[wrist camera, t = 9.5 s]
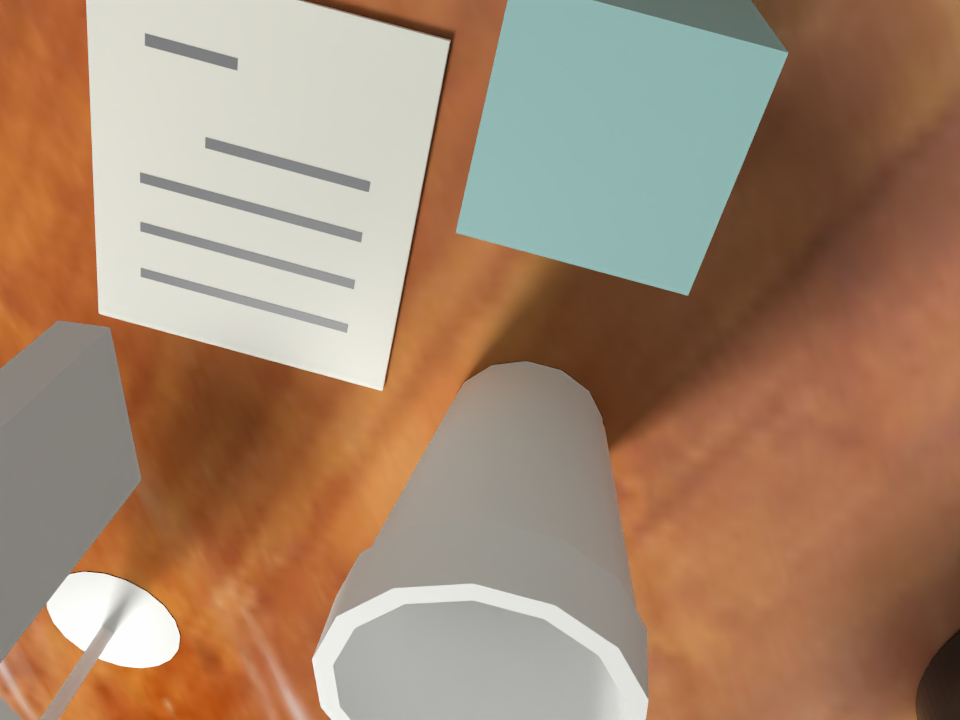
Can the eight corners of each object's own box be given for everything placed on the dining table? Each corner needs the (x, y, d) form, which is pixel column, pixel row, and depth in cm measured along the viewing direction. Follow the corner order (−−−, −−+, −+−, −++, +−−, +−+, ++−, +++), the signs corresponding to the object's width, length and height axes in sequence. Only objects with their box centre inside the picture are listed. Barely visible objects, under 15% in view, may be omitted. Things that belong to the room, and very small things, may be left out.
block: (670, 154, 27) (687, 296, 19) (508, 111, 28) (455, 232, 19) (734, -23, 24) (788, 52, 16) (552, -72, 25) (512, -22, 16)
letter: (451, 39, 27) (449, 41, 26) (383, 388, 34) (382, 391, 34) (87, -59, 27) (83, -58, 26) (101, 311, 34) (98, 313, 34)
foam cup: (407, 318, 32) (294, 564, 21) (651, 333, 31) (662, 603, 20) (420, 504, 37) (334, 780, 26) (630, 523, 36) (631, 821, 25)
